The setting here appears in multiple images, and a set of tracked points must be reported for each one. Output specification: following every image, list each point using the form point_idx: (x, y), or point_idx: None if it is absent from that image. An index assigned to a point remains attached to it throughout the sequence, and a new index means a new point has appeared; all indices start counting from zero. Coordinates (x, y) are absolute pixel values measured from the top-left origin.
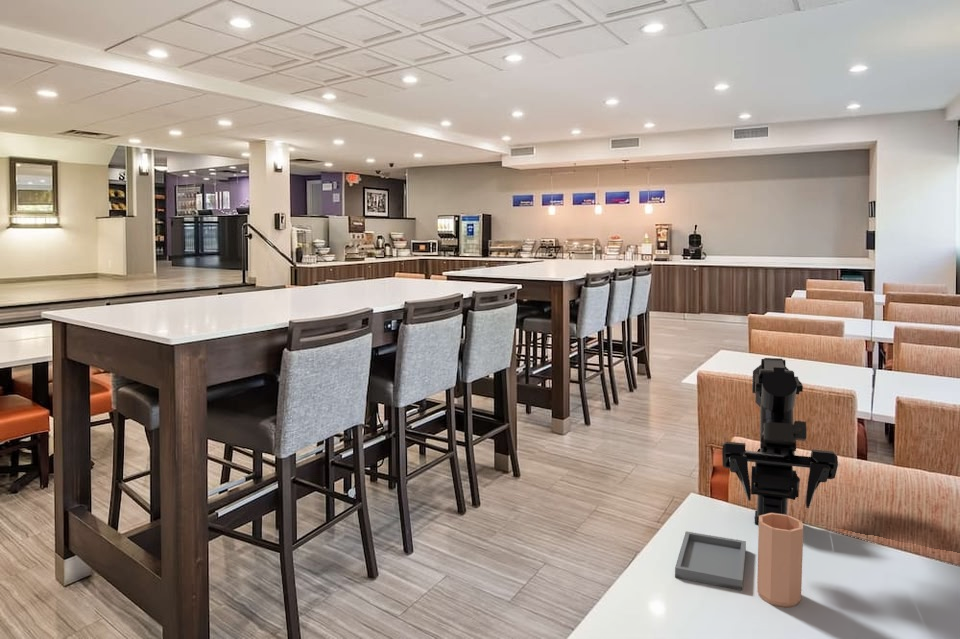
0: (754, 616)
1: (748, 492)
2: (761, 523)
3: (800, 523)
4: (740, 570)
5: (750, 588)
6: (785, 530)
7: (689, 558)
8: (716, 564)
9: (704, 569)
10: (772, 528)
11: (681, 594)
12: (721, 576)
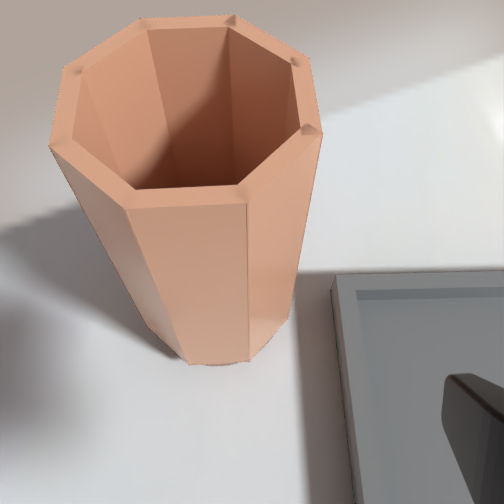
0: None
1: (499, 397)
2: (296, 51)
3: (65, 115)
4: (355, 344)
5: (307, 324)
6: (167, 19)
7: None
8: None
9: (483, 354)
10: (234, 18)
11: (490, 209)
12: (408, 273)
